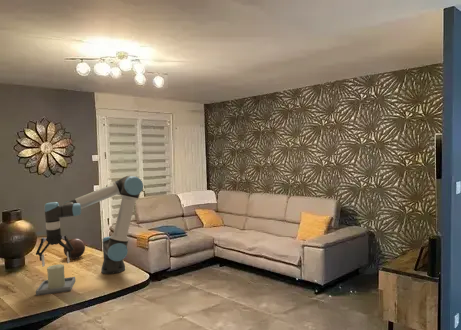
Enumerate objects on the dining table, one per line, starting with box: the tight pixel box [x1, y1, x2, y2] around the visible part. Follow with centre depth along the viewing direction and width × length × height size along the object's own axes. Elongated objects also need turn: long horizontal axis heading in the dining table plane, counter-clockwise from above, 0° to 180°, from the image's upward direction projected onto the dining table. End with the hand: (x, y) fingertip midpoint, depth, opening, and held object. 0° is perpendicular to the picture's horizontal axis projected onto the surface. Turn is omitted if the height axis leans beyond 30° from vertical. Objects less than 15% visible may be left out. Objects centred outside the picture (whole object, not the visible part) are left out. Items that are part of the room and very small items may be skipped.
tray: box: [35, 276, 76, 297], centre depth 212 cm, size 18×18×2 cm
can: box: [46, 263, 66, 289], centre depth 211 cm, size 9×9×12 cm
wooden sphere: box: [63, 238, 86, 260], centre depth 273 cm, size 15×15×15 cm
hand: (56, 264), depth 211 cm, fingers open, 13 cm apart
